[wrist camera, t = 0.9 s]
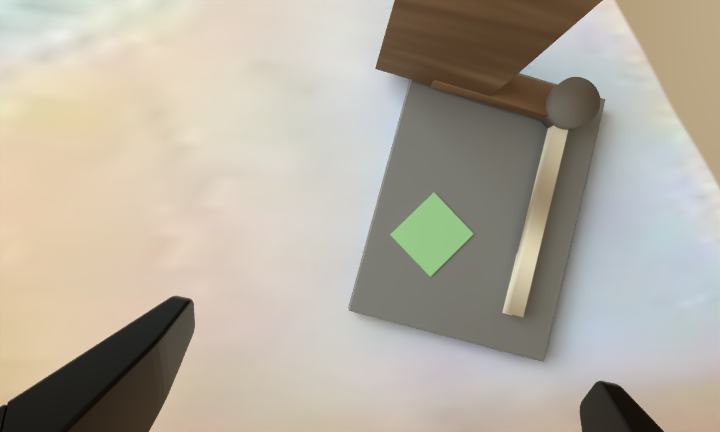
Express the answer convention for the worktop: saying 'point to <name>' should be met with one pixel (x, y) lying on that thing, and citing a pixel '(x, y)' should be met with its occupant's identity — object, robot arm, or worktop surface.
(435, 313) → the gray rectangular base plate
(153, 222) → the worktop surface
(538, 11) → the pull lever
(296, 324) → the worktop surface
